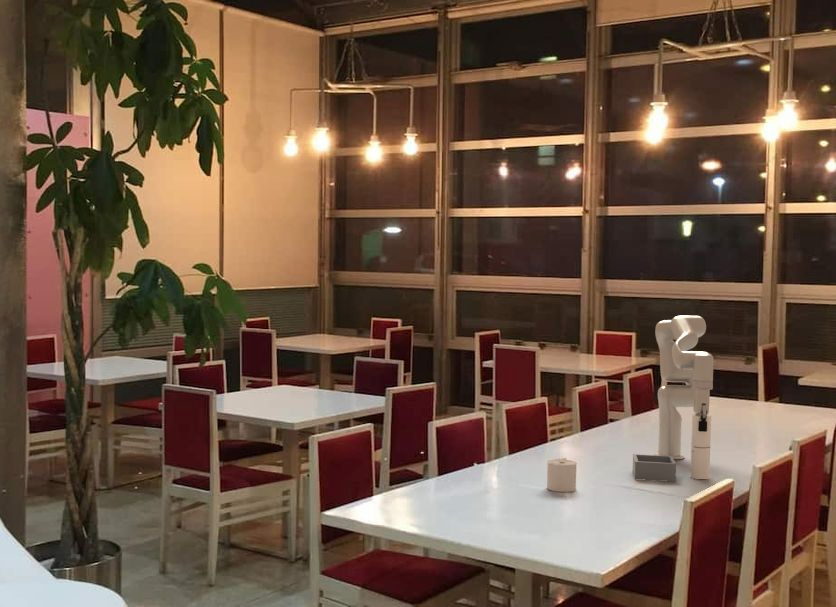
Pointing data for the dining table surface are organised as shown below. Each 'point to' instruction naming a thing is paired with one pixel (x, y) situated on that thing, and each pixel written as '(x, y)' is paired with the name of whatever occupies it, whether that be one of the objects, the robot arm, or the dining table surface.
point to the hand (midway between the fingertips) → (701, 429)
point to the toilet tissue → (561, 475)
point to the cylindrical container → (700, 449)
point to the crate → (654, 467)
